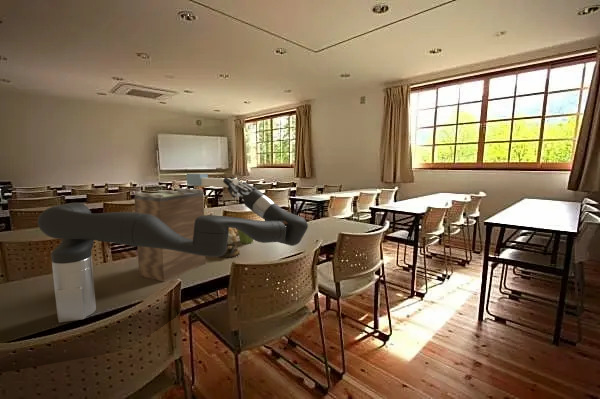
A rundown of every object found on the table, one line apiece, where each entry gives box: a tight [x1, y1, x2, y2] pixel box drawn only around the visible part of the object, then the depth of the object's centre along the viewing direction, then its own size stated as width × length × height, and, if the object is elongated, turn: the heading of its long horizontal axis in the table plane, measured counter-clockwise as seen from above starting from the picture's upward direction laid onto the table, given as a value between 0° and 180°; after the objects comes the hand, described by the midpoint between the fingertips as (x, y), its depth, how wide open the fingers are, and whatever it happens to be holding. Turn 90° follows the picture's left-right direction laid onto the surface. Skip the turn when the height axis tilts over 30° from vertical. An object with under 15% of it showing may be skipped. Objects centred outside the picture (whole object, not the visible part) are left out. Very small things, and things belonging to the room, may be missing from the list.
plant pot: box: [237, 229, 254, 244], centre depth 166 cm, size 12×12×11 cm
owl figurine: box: [218, 227, 240, 259], centre depth 146 cm, size 18×12×17 cm, turn 39°
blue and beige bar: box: [186, 172, 239, 188], centre depth 116 cm, size 23×4×4 cm, turn 64°
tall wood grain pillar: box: [134, 187, 206, 282], centre depth 122 cm, size 14×22×33 cm, turn 155°
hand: (227, 179), depth 113 cm, fingers closed on blue and beige bar, 3 cm apart
